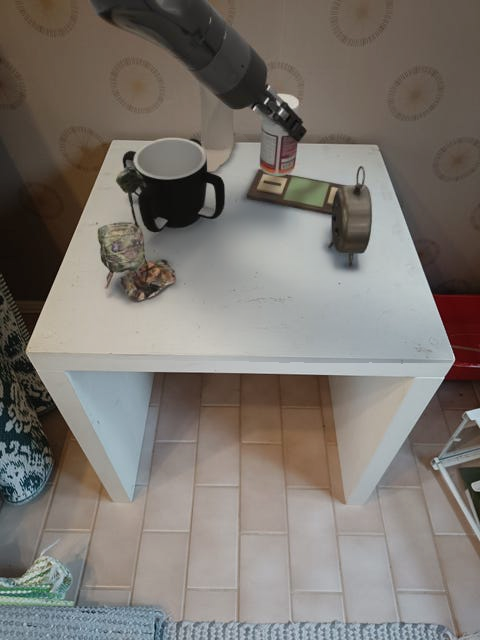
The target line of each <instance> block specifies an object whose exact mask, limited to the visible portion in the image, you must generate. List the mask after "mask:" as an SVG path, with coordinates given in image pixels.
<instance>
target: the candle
mask: <svg viewBox="0 0 480 640" xmlns="http://www.w3.org/2000/svg"><path fill="white" fill-rule="evenodd" d="M198 87H199V98H200V99H199V100H200V143H201V145H202V148H203V149H204V150H205V152H206V156H207V172H209V173H212V172H213V173H214V172H216V171H217V170H218V169H219V167H221V166H222V165H224V164H225V163H227V162H228V160H229V159H230V157H231V155H232V152H233V150H234V149H235V130H234V109H231V108H229V107H228V106H227V105H225V104H224V103H223V102H222V101H221V100H220V99H218V98H217V97H216V96H215V95H214V94H213V93H211V92H210V91H209V90H208V89H207V88H206V87H204V86H203V85H202V84H201V83H200V82H199V81H198Z"/></svg>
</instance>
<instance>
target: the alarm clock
mask: <svg viewBox="0 0 480 640" xmlns="http://www.w3.org/2000/svg"><path fill="white" fill-rule="evenodd" d="M361 170H362V179H361V183H359V175H360V174H359V173H360V171H361ZM365 180H366V170H365V167H364V166H363V165H360V166H359V167H358V169H357V171H356V180H355V181H356V184H353V185H352V184H350V185H349V184H348V185H347V186H341V187H340V188H339V189H338V190H337V191H336V193H335V196H334V200H333V205H331V208H332V215H331V222H330V223H331V226H330V227H331V242H330V244H329V245H328V249H331V248H332V247H334V249H335V251H336V252H337V253H339V254H344V255H346V254H348V258H349V259H348V262H349V263H348V266H349V267H353V266H354V264H353V262H354V254H364V253H365V252H366V250H367V248H368V246H369V243H370V240H371V235H372V234H371V232H372V225H373V203H372V197H371V192H370V189H369V187H368V186H367V185H366V184H365Z"/></svg>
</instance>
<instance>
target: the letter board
mask: <svg viewBox="0 0 480 640" xmlns="http://www.w3.org/2000/svg"><path fill="white" fill-rule="evenodd" d="M341 186H347V185H346V184H342V183H337V182H331V181H325V180H319V179H314V178H309V177H304V176H299V175H293V174H287V175H283V176H273V175H269V174H267V173H265V172H264V171H263V170H262V169H261V168H258V170H257V172H256V174H255V176H254V178H253V181H251V185H250V187H249V189H248V191H247V193H246V199H250V200H254V201H259V202H264V203H269V204H274V205H280V206H284V207H290V208H294V209H298V210H299V209H300V210H305V211H308V212H309V211H310V212H313V213H318V214H319V213H320V214H325V215H329V216H332V208H331V205H333V200H334V196H335V193H336V191H337V190H338V189H339V188H340V187H341Z"/></svg>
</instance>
